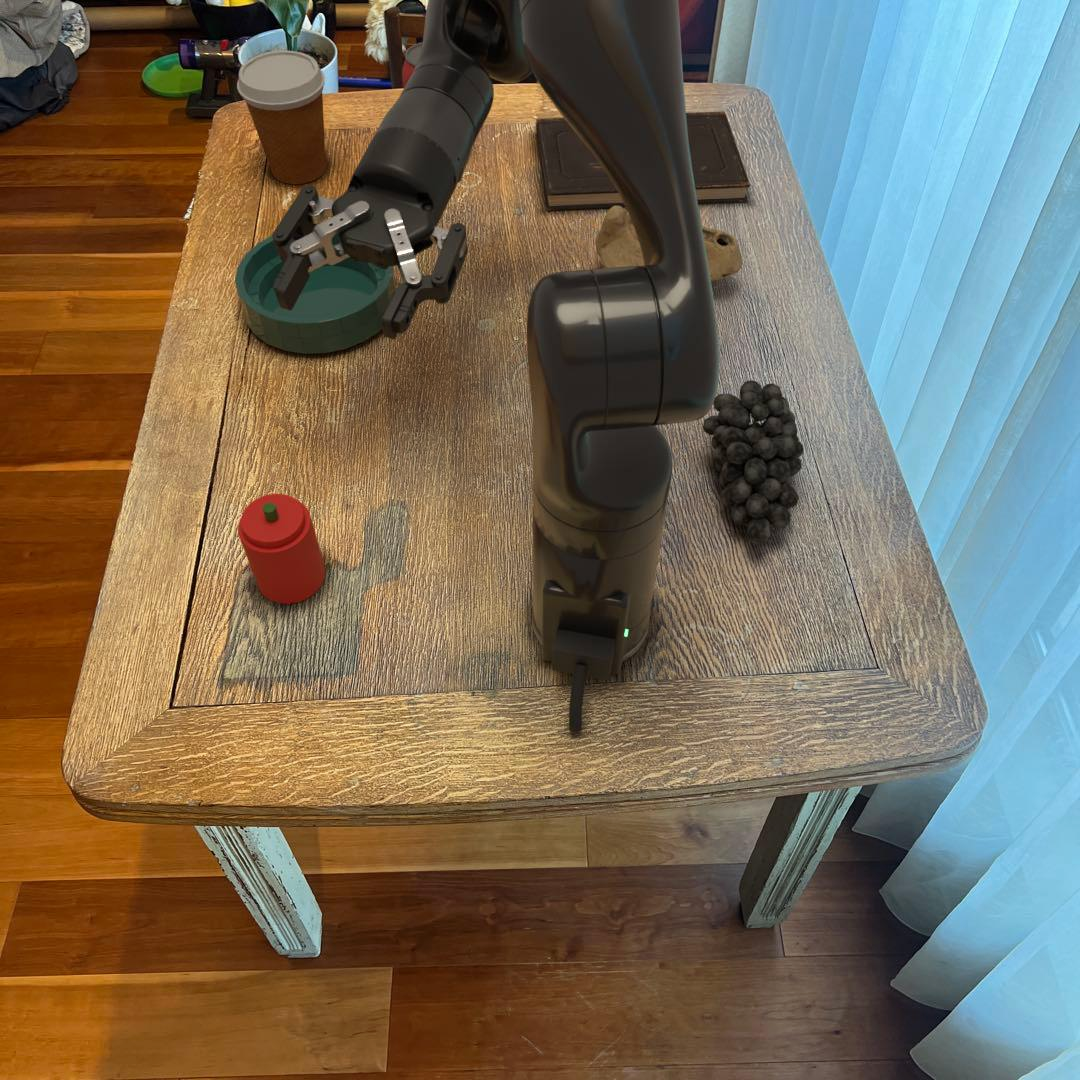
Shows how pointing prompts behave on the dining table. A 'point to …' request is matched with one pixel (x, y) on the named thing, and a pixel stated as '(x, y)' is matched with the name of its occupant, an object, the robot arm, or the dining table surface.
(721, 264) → the oil lamp
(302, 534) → the red cylinder
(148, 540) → the dining table surface
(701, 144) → the hardcover book
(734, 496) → the fruit
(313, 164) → the disposable coffee cup
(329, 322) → the bowl
